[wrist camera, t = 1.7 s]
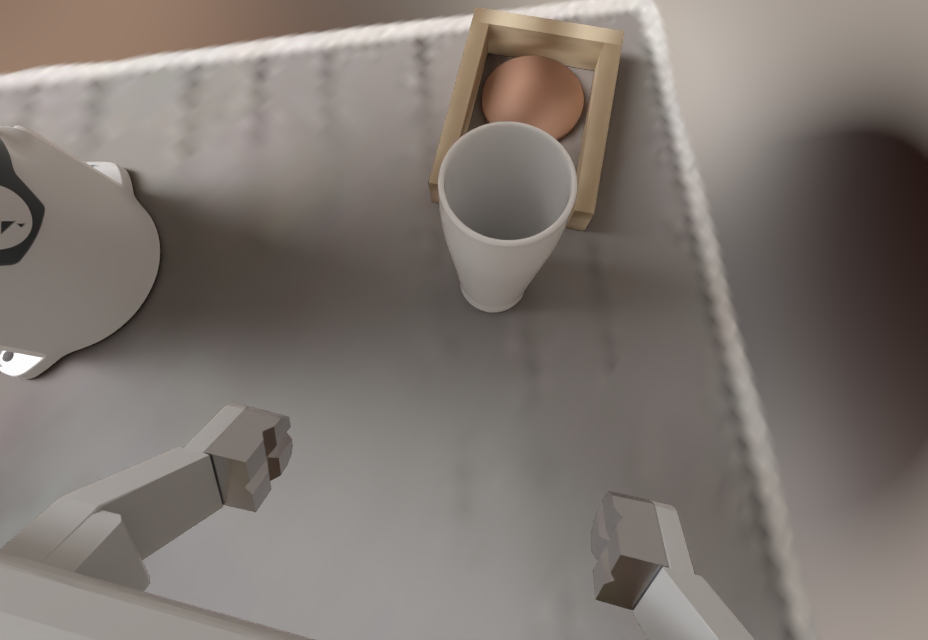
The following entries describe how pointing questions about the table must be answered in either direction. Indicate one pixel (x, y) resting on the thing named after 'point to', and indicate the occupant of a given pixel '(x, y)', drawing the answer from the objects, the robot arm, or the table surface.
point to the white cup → (504, 208)
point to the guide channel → (538, 89)
